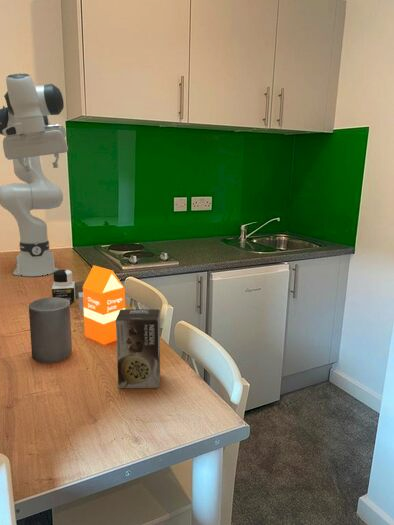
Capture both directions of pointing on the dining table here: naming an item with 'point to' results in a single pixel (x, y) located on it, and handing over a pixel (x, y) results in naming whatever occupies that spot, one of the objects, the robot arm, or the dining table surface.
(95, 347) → the dining table surface
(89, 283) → the orange juice
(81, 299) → the grey painted block
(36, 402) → the dining table surface
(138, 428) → the dining table surface
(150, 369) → the coffee box
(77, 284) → the walnut block
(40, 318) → the pillar candle
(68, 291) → the medicine bottle
